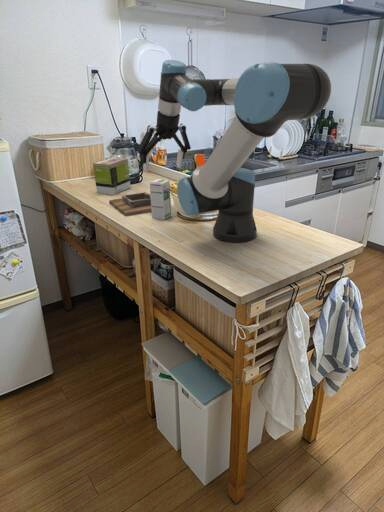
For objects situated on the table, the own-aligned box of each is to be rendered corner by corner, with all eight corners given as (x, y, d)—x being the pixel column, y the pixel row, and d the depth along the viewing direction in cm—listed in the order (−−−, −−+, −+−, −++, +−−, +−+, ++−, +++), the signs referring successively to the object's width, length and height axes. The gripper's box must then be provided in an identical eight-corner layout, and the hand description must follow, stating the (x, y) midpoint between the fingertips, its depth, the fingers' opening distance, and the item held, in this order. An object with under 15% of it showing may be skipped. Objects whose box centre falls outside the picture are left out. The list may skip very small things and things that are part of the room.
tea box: (114, 186, 193) (112, 156, 187) (131, 188, 189) (128, 158, 183) (96, 193, 181) (92, 162, 175) (113, 195, 177) (109, 164, 171)
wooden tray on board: (170, 208, 158) (170, 199, 157) (125, 216, 149) (124, 206, 148) (150, 197, 174) (150, 188, 172) (109, 203, 165) (108, 194, 163)
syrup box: (164, 220, 145) (163, 183, 139) (151, 218, 147) (149, 181, 141) (171, 215, 150) (170, 179, 144) (158, 213, 152) (156, 178, 146)
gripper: (195, 106, 133) (187, 160, 147) (129, 108, 122) (126, 167, 136) (206, 114, 128) (196, 170, 142) (138, 118, 117) (134, 177, 131)
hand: (162, 168), depth 139 cm, fingers open, 13 cm apart
